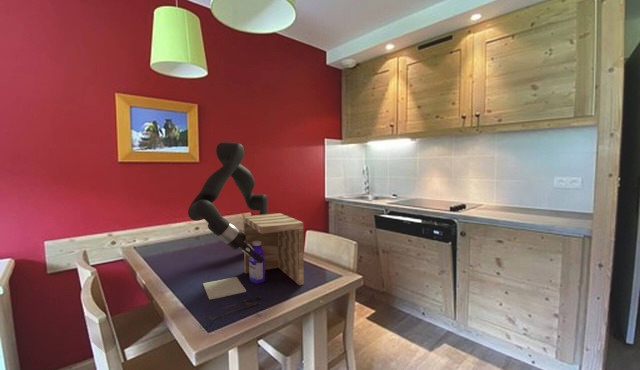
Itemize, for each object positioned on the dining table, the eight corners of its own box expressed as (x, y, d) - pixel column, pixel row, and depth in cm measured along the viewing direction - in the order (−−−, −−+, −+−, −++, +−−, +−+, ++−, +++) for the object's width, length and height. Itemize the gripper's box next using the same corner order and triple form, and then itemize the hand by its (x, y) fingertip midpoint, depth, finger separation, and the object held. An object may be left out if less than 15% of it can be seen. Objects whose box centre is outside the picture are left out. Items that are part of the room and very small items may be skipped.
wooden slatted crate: (244, 272, 138) (243, 216, 136) (280, 265, 147) (279, 213, 145) (262, 293, 115) (261, 227, 113) (303, 284, 124) (303, 222, 122)
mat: (203, 284, 124) (202, 283, 124) (236, 277, 131) (236, 276, 131) (209, 299, 110) (209, 298, 110) (246, 291, 117) (246, 290, 117)
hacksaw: (260, 297, 113) (260, 294, 113) (272, 308, 105) (272, 304, 105) (193, 316, 100) (193, 312, 99) (201, 330, 91) (200, 326, 91)
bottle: (247, 280, 128) (246, 241, 127) (258, 277, 132) (257, 239, 131) (256, 285, 123) (255, 244, 122) (267, 281, 127) (266, 242, 126)
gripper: (242, 232, 116) (270, 256, 122) (233, 225, 128) (259, 247, 135) (229, 247, 114) (258, 270, 120) (221, 239, 126) (248, 260, 132)
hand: (259, 258), depth 127 cm, fingers open, 8 cm apart
